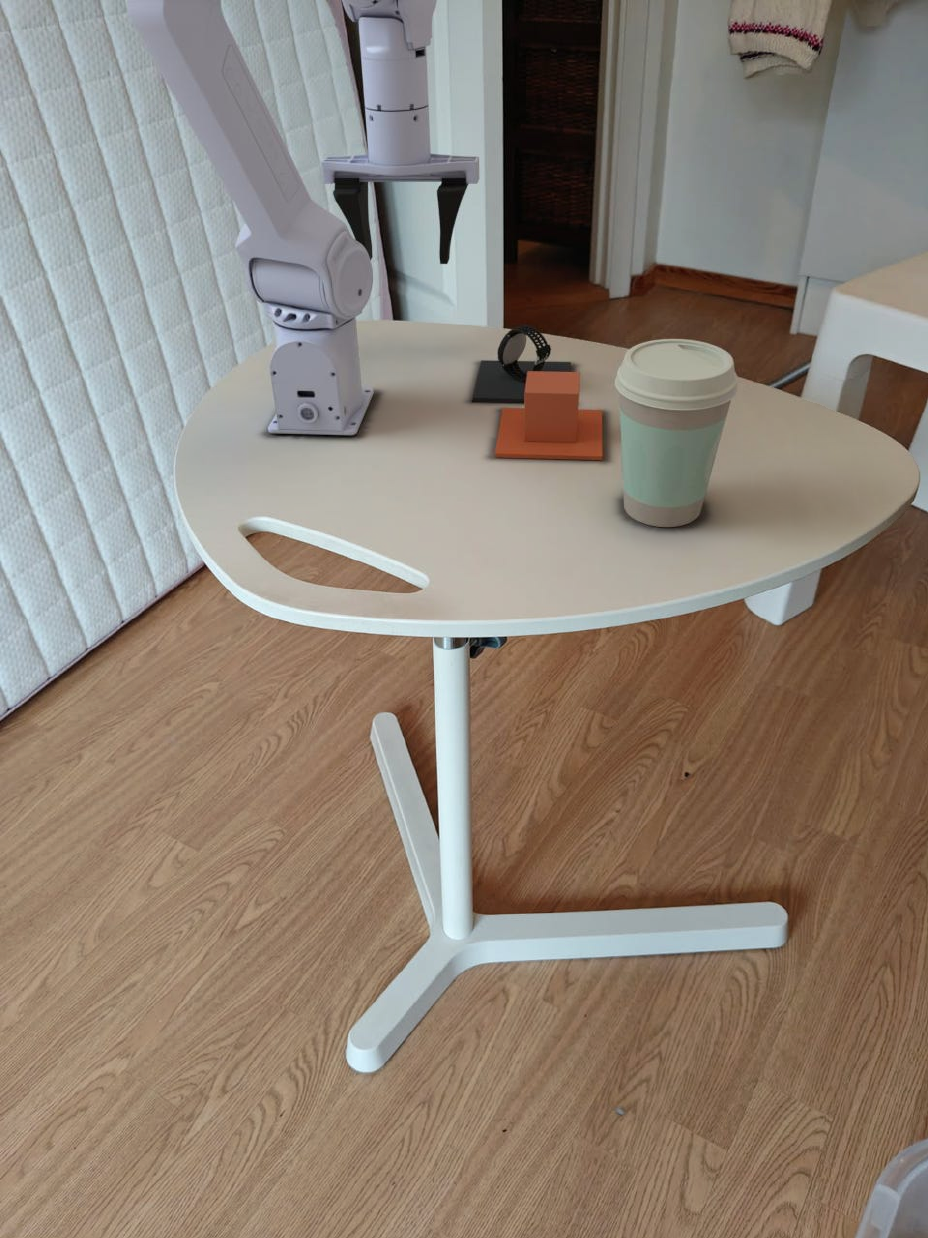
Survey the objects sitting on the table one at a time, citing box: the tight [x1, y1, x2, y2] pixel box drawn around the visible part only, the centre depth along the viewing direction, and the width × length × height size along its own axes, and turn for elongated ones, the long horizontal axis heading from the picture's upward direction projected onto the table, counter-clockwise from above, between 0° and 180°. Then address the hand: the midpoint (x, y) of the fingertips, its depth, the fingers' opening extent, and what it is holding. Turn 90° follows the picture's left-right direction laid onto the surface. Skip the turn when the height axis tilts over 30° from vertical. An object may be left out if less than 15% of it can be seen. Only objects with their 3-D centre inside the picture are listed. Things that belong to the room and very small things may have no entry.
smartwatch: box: [496, 324, 552, 382], centre depth 93 cm, size 4×5×5 cm
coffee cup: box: [614, 338, 739, 528], centre depth 72 cm, size 8×8×12 cm
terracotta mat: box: [494, 407, 604, 461], centre depth 86 cm, size 9×9×1 cm
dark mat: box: [471, 359, 572, 404], centre depth 95 cm, size 9×9×1 cm
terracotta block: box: [523, 371, 581, 443], centre depth 84 cm, size 4×4×4 cm
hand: (405, 260), depth 96 cm, fingers open, 7 cm apart
